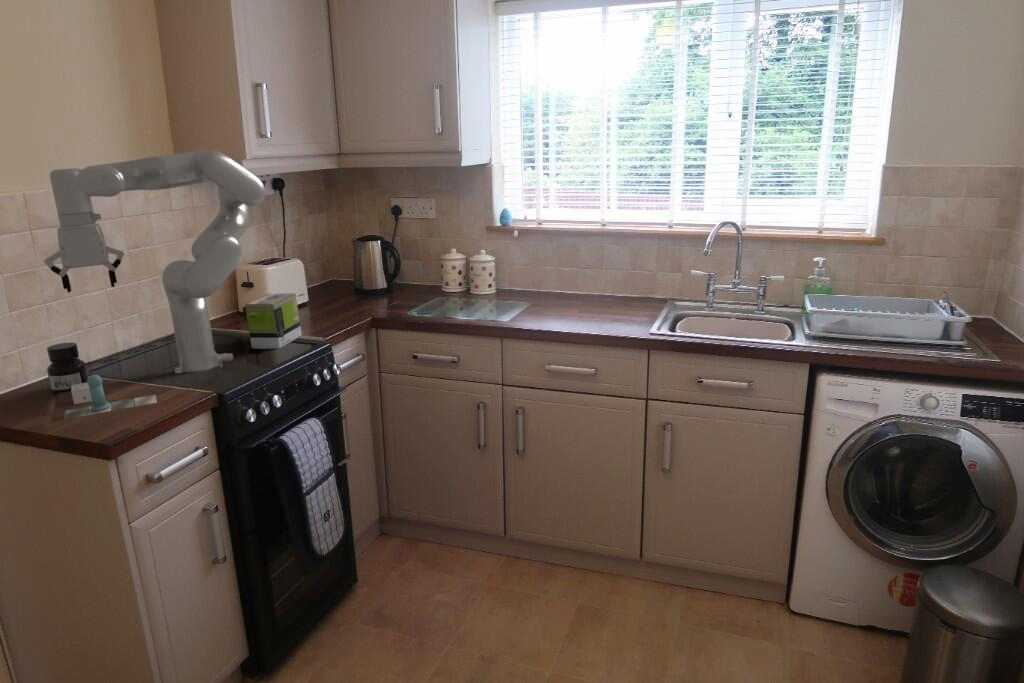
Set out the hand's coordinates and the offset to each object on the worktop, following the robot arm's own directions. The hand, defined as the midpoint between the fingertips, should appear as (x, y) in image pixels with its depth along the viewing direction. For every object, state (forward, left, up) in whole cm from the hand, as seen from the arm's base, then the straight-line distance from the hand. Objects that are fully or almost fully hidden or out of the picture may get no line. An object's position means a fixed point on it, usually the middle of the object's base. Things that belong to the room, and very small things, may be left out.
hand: (91, 288), depth 183 cm
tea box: (-47, -26, -28) cm, 61 cm away
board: (0, +15, -28) cm, 32 cm away
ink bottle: (+10, -12, -28) cm, 33 cm away
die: (+6, +5, -28) cm, 29 cm away
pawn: (+2, +15, -27) cm, 31 cm away
